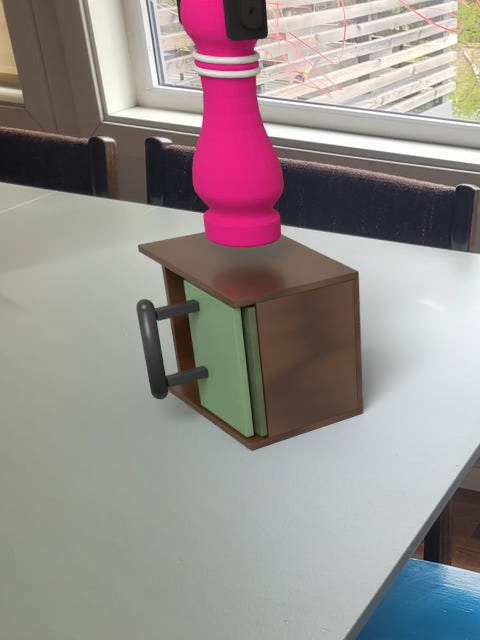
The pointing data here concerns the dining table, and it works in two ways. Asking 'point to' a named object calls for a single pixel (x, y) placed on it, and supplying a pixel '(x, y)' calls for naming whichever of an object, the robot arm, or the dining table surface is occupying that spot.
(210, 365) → the closet door
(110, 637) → the dining table surface
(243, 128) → the pepper mill
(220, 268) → the cupboard
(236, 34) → the robot arm
